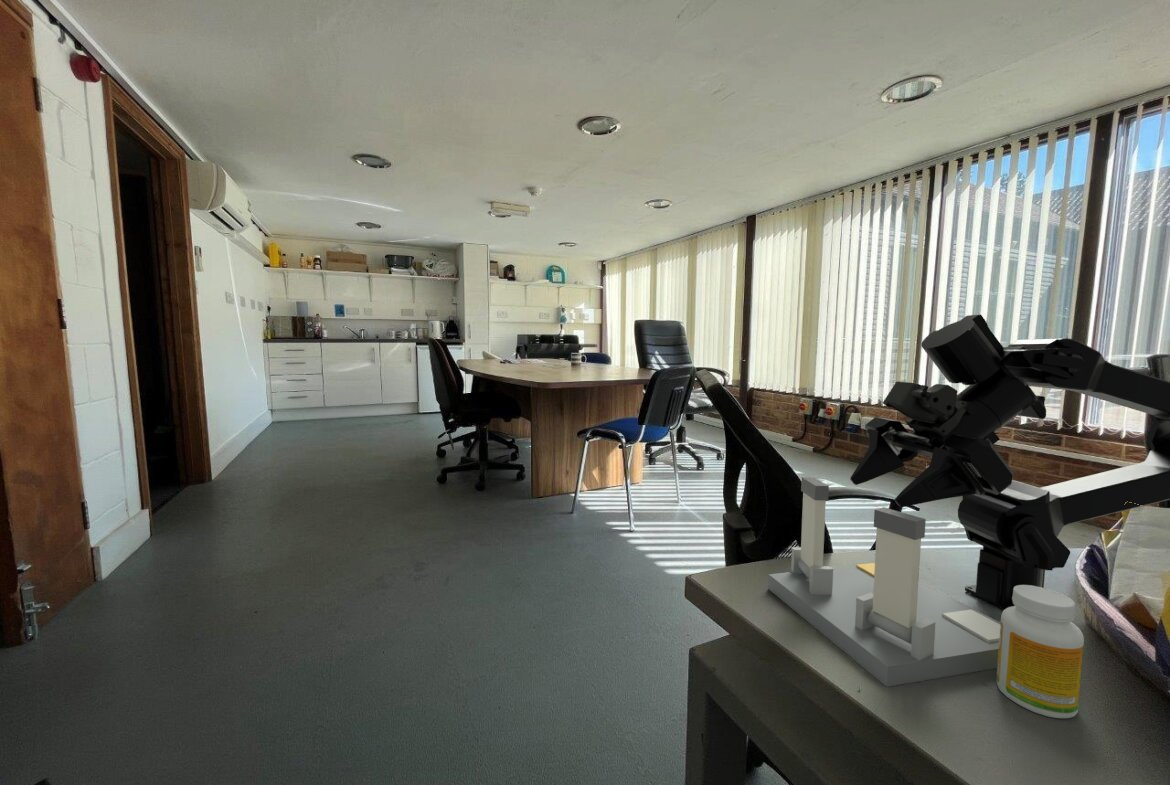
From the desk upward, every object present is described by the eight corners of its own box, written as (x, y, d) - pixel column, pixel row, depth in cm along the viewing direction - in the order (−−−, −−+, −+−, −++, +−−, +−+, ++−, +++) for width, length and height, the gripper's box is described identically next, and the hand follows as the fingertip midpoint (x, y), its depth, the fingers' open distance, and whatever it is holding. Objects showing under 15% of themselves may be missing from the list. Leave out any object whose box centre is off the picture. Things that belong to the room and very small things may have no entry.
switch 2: (878, 621, 51) (884, 507, 50) (918, 641, 47) (926, 519, 46) (868, 625, 50) (873, 509, 49) (908, 646, 46) (915, 521, 45)
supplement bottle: (1096, 725, 40) (1106, 614, 39) (1021, 715, 41) (1030, 607, 40) (1047, 682, 45) (1056, 583, 44) (982, 674, 46) (989, 578, 45)
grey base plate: (881, 574, 67) (882, 538, 67) (1036, 661, 48) (1040, 611, 48) (766, 587, 63) (767, 549, 63) (886, 686, 44) (889, 633, 44)
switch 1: (810, 570, 63) (814, 477, 62) (825, 585, 59) (829, 485, 58) (797, 570, 63) (800, 477, 62) (810, 584, 59) (814, 485, 58)
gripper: (888, 360, 67) (800, 430, 68) (1004, 363, 48) (881, 459, 49) (935, 421, 68) (847, 489, 68) (1067, 447, 49) (944, 540, 50)
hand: (873, 492), depth 59 cm, fingers open, 9 cm apart
